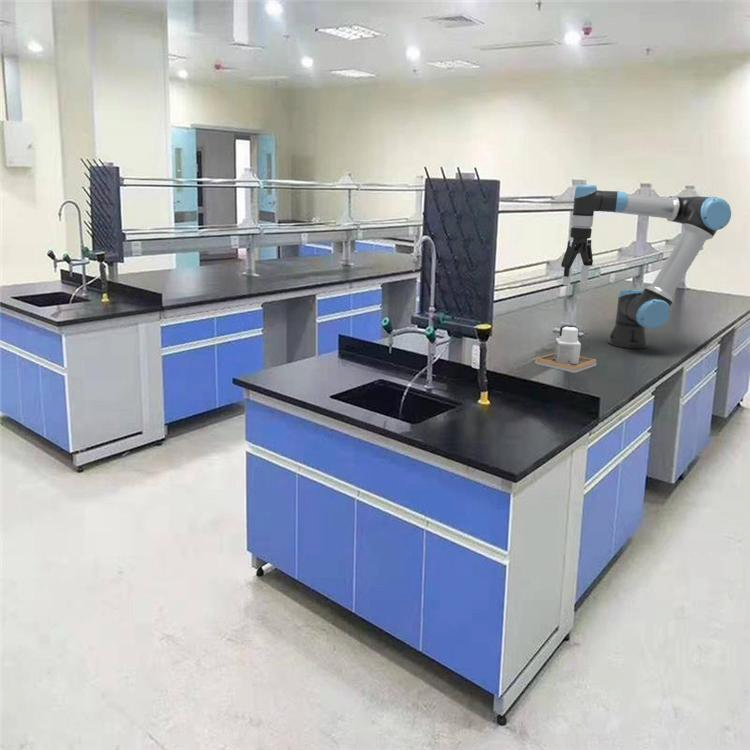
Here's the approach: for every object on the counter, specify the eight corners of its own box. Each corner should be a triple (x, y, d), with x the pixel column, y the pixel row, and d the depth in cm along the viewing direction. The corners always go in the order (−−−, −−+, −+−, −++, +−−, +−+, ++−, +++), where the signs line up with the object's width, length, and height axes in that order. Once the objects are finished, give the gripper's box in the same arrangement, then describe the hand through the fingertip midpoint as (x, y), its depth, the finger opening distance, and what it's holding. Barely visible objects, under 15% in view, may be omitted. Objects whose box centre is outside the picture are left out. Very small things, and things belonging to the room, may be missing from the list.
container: (553, 358, 259) (557, 323, 255) (575, 359, 258) (579, 324, 255) (556, 363, 251) (560, 328, 248) (578, 364, 251) (582, 329, 247)
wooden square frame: (557, 357, 266) (557, 351, 265) (596, 365, 255) (597, 359, 255) (534, 363, 255) (535, 357, 254) (574, 373, 244) (575, 366, 244)
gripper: (588, 225, 274) (581, 280, 279) (555, 227, 256) (549, 285, 262) (606, 227, 269) (599, 282, 274) (574, 228, 251) (567, 287, 257)
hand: (575, 283), depth 268 cm, fingers open, 13 cm apart
